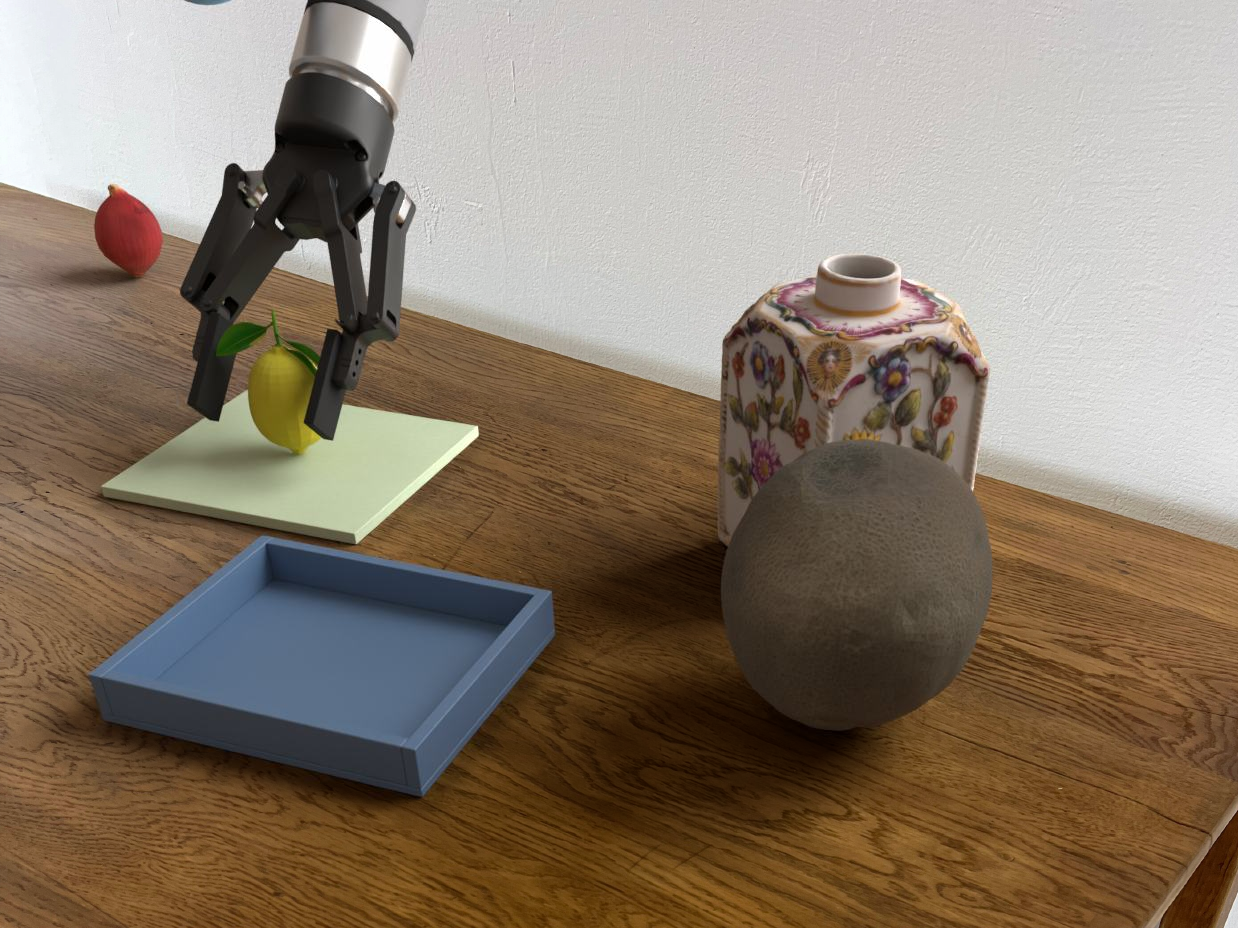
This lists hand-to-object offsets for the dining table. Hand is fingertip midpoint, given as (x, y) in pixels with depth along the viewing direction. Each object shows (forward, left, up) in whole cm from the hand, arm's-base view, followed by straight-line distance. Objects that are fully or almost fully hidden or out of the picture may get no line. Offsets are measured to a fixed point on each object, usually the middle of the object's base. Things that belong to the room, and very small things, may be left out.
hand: (260, 422), depth 92 cm
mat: (0, +3, -5) cm, 6 cm away
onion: (-36, +33, -5) cm, 49 cm away
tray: (+17, -20, -5) cm, 26 cm away
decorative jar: (+40, +3, -5) cm, 40 cm away
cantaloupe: (+45, -14, -5) cm, 47 cm away
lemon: (0, +3, -4) cm, 5 cm away
